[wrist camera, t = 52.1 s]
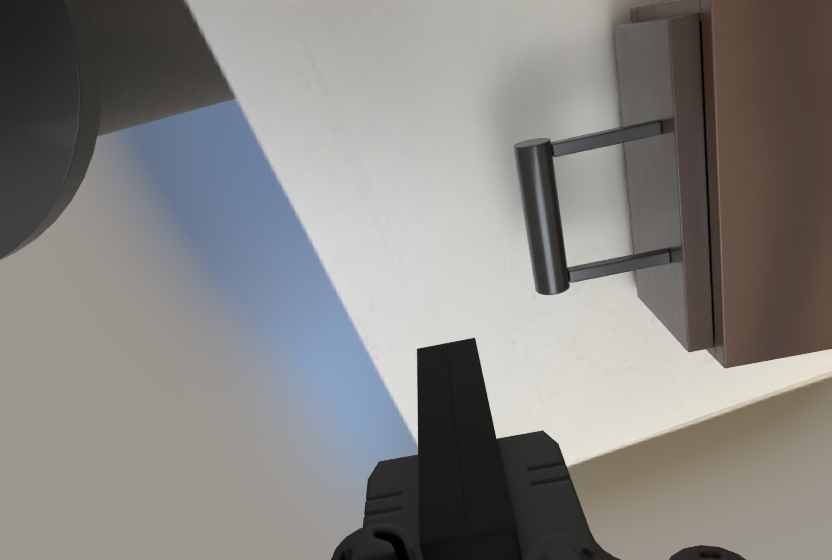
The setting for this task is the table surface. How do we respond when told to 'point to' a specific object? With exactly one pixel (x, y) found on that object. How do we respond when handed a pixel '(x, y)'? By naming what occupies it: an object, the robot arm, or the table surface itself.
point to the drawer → (642, 180)
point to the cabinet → (767, 172)
